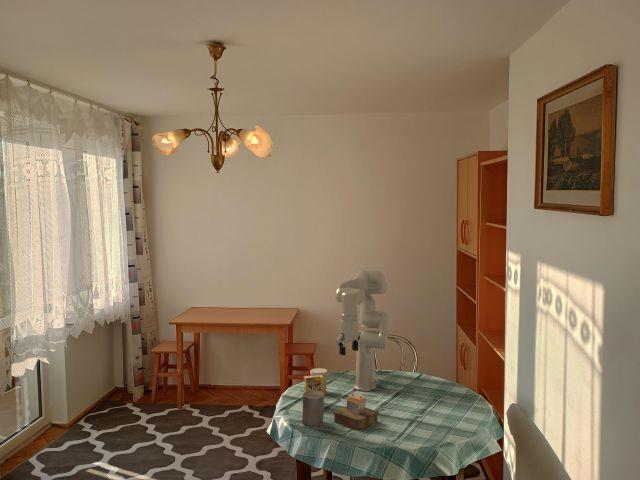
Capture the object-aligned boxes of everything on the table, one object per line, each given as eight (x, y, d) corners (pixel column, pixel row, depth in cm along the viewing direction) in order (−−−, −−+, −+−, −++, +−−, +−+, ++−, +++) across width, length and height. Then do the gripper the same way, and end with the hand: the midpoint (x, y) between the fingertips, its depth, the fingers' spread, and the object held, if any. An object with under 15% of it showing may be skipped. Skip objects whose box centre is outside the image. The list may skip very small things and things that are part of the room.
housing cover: (353, 398, 271) (353, 392, 271) (365, 401, 266) (365, 396, 266) (347, 400, 268) (347, 394, 268) (359, 403, 263) (359, 398, 263)
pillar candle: (299, 421, 268) (299, 389, 267) (318, 418, 272) (319, 386, 271) (307, 429, 259) (307, 396, 258) (327, 425, 263) (327, 393, 262)
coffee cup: (330, 392, 310) (331, 369, 309) (321, 396, 302) (321, 374, 301) (316, 388, 314) (316, 367, 314) (306, 393, 307) (306, 371, 306)
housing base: (353, 408, 272) (353, 397, 272) (365, 412, 267) (365, 401, 267) (346, 411, 268) (346, 400, 268) (358, 414, 263) (358, 404, 263)
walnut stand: (353, 413, 278) (353, 403, 278) (378, 422, 268) (378, 411, 268) (332, 422, 267) (333, 411, 267) (358, 431, 257) (358, 420, 257)
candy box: (305, 408, 284) (306, 378, 283) (303, 405, 288) (303, 375, 287) (322, 407, 287) (323, 376, 286) (320, 404, 291) (320, 374, 290)
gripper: (354, 313, 285) (353, 347, 286) (331, 319, 272) (331, 355, 273) (366, 315, 280) (366, 350, 281) (343, 321, 267) (343, 358, 268)
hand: (348, 352), depth 277 cm, fingers open, 9 cm apart
